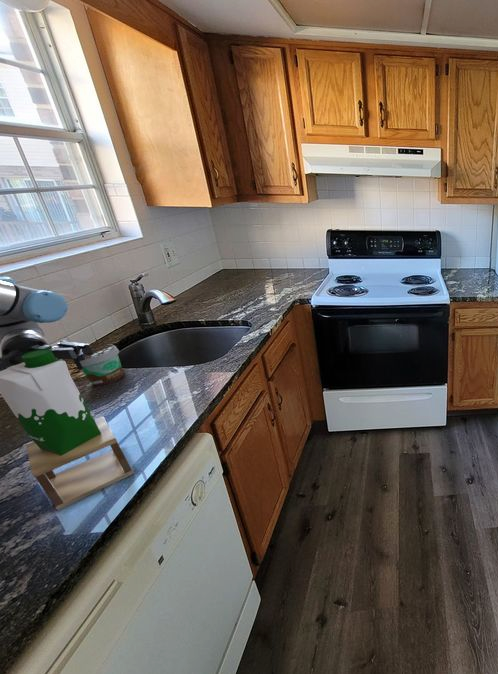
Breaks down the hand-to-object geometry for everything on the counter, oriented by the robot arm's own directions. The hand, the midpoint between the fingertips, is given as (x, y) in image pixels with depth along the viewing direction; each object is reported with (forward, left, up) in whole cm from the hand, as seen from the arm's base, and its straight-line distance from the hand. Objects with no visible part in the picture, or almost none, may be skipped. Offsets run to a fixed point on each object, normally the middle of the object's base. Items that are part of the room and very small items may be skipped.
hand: (33, 376), depth 75 cm
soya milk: (+7, -2, -14) cm, 15 cm away
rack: (+7, -2, -24) cm, 25 cm away
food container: (-40, +25, -24) cm, 53 cm away
